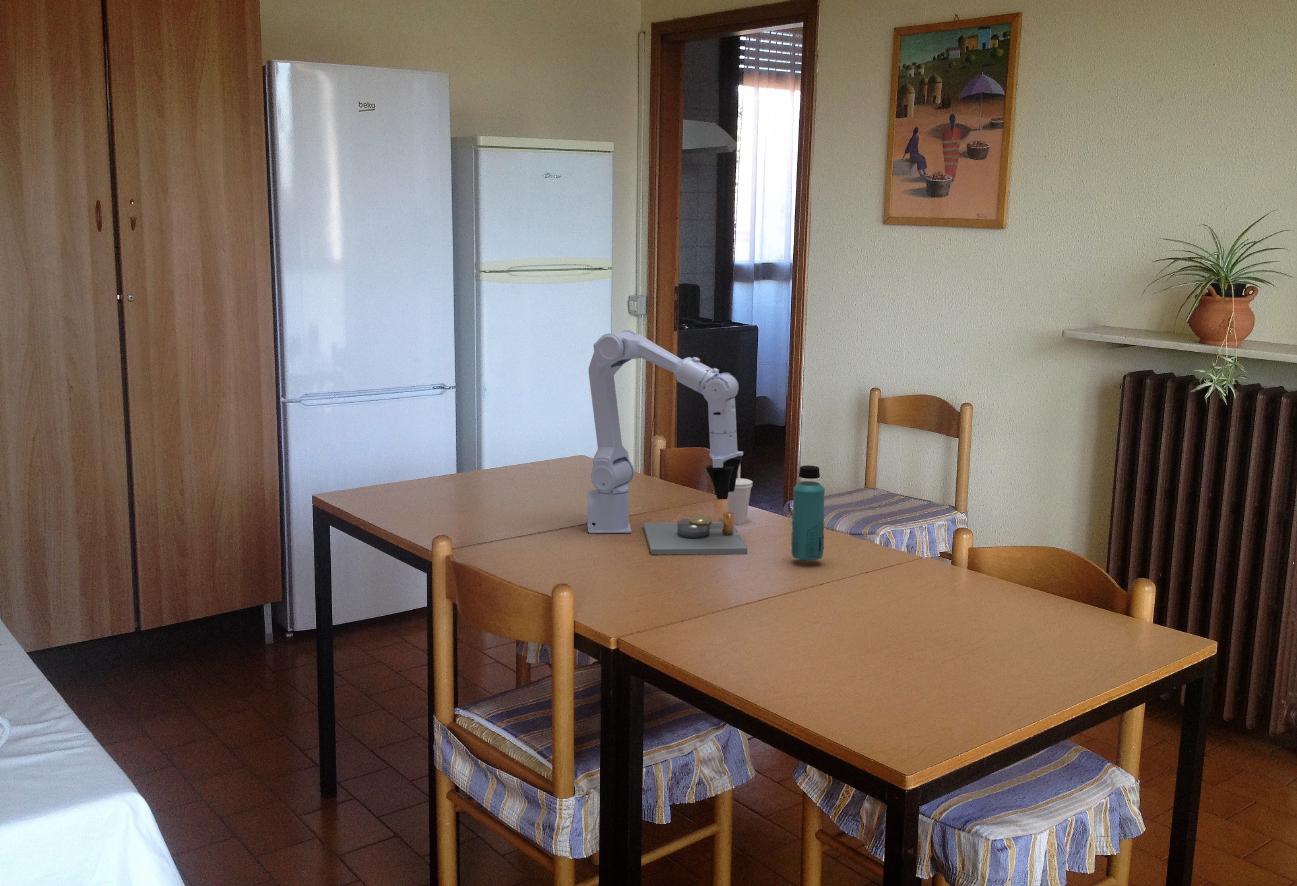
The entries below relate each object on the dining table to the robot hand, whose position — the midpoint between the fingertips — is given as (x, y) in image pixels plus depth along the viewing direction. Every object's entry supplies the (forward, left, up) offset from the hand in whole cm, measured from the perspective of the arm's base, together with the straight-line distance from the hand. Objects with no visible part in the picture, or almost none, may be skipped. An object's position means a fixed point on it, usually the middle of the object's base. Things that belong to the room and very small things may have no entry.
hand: (725, 495), depth 245 cm
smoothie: (+6, +19, -11) cm, 22 cm away
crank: (-4, +4, -9) cm, 11 cm away
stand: (-6, +4, -11) cm, 13 cm away
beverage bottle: (+15, -14, -11) cm, 23 cm away
